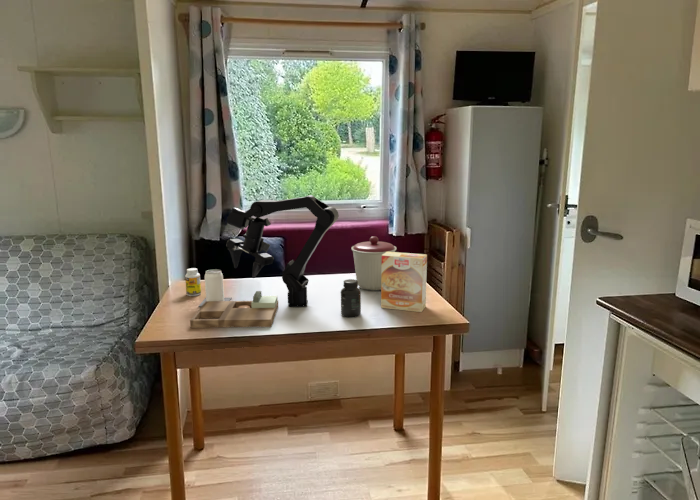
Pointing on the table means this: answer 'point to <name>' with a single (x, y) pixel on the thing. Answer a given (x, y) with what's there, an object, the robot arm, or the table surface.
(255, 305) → the cover
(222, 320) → the puzzle board
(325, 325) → the table surface
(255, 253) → the robot arm
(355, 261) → the canister
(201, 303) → the mat
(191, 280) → the supplement bottle
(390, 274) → the coffeecake box
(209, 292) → the can
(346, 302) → the supplement bottle
